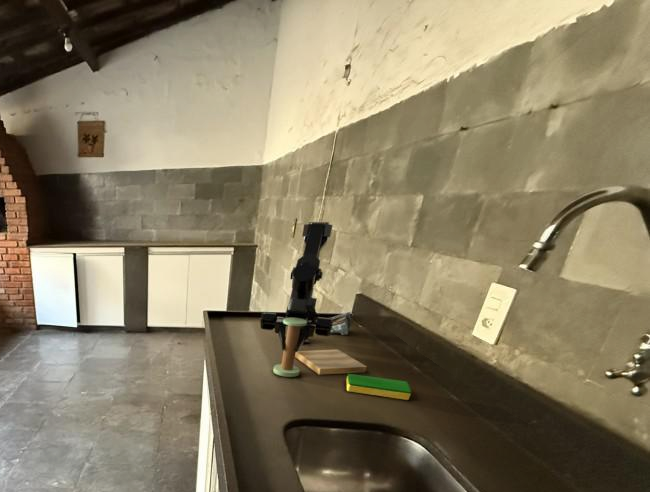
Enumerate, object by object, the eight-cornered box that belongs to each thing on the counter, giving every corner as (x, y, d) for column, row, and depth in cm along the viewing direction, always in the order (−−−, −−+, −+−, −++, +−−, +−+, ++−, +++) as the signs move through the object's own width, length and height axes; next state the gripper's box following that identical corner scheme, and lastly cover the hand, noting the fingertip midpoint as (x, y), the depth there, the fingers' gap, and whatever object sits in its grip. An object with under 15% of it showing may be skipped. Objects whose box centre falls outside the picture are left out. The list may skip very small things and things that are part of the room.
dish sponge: (346, 381, 115) (348, 373, 114) (404, 389, 110) (407, 381, 109) (346, 391, 109) (348, 383, 108) (408, 400, 104) (411, 391, 103)
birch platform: (294, 356, 133) (295, 351, 132) (336, 354, 134) (337, 349, 133) (319, 374, 120) (320, 368, 119) (365, 372, 121) (367, 366, 120)
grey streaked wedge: (313, 333, 155) (343, 315, 147) (313, 323, 160) (343, 305, 151) (329, 350, 157) (360, 333, 149) (329, 339, 162) (359, 322, 153)
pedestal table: (269, 368, 123) (277, 317, 117) (292, 367, 124) (301, 316, 117) (279, 377, 117) (288, 324, 110) (303, 376, 118) (314, 323, 111)
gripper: (266, 283, 117) (254, 332, 113) (340, 288, 109) (330, 341, 106) (266, 305, 127) (255, 351, 123) (334, 311, 119) (324, 360, 115)
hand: (289, 350), depth 116 cm, fingers closed on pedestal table, 3 cm apart
